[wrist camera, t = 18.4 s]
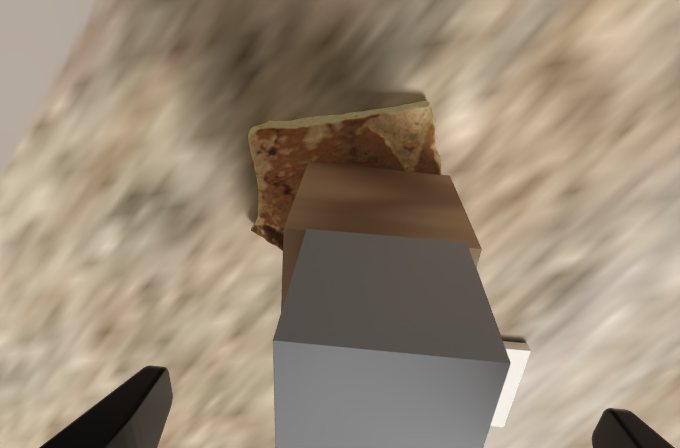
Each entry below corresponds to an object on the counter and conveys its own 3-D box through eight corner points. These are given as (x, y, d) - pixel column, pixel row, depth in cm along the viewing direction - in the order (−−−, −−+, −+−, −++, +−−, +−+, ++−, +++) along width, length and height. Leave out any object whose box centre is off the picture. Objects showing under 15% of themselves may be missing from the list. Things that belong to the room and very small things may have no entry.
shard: (444, 324, 21) (450, 351, 19) (288, 334, 22) (281, 361, 20) (435, 93, 16) (442, 104, 14) (233, 119, 17) (218, 132, 15)
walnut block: (449, 175, 15) (481, 249, 11) (424, 290, 18) (442, 388, 13) (308, 161, 15) (283, 227, 11) (302, 276, 18) (279, 370, 13)
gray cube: (466, 242, 11) (510, 363, 7) (440, 360, 13) (464, 502, 9) (306, 228, 11) (272, 340, 7) (304, 347, 13) (275, 482, 9)
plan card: (527, 343, 20) (533, 356, 19) (501, 418, 22) (505, 433, 22) (375, 329, 20) (375, 342, 19) (366, 405, 23) (365, 419, 22)
